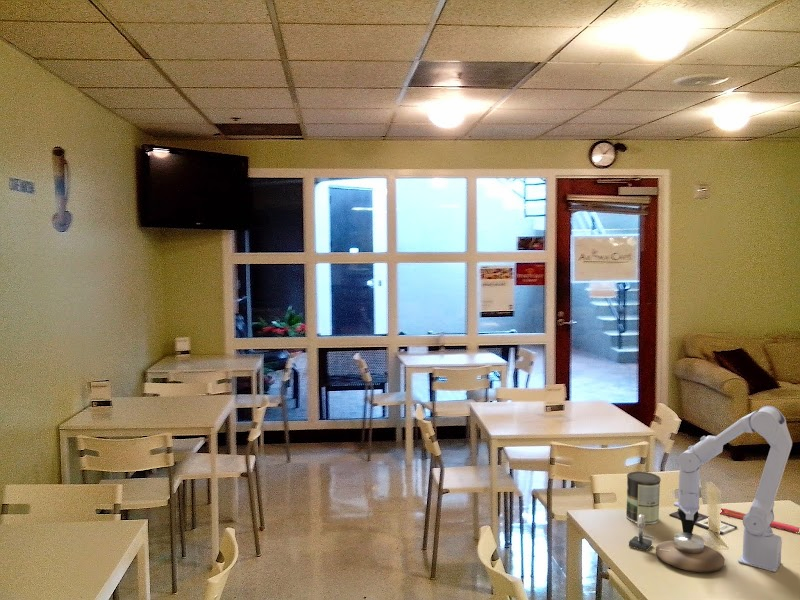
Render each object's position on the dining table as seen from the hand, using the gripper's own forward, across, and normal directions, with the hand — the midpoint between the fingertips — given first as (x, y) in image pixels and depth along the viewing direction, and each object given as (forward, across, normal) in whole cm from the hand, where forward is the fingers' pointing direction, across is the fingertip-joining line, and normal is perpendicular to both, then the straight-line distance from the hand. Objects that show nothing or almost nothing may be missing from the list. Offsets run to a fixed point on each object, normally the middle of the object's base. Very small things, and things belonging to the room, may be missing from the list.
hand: (687, 534), depth 203 cm
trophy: (+3, +7, -13) cm, 15 cm away
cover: (+1, +8, 0) cm, 8 cm away
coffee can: (+3, -15, -13) cm, 20 cm away
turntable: (+3, +12, 0) cm, 12 cm away
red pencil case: (+3, -25, +23) cm, 34 cm away
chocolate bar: (+3, -19, +6) cm, 20 cm away
